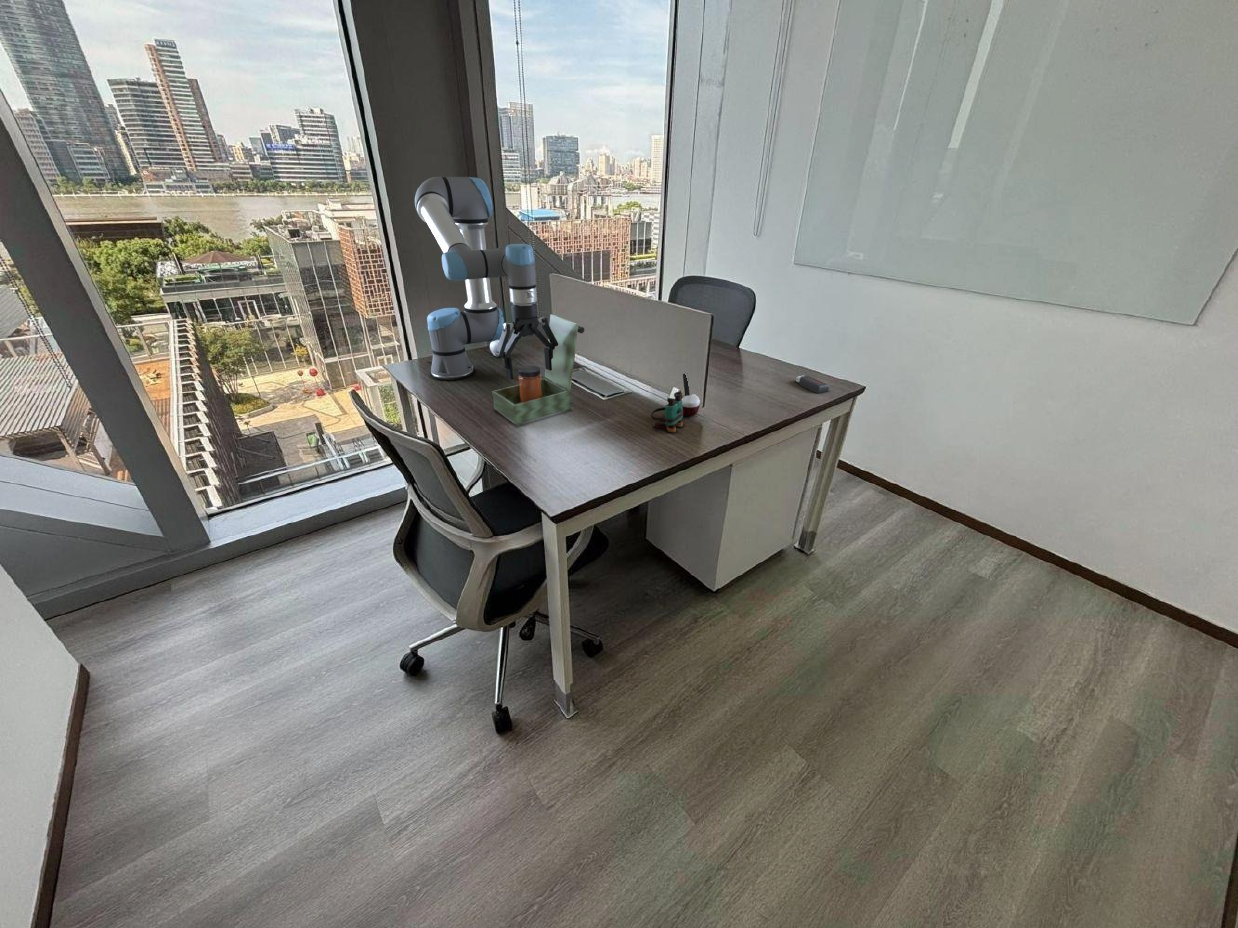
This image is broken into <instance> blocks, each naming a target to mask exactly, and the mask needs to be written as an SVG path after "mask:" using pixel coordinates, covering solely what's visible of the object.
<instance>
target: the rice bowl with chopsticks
mask: <svg viewBox="0 0 1238 928" xmlns="http://www.w3.org/2000/svg"><path fill="white" fill-rule="evenodd" d="M682 380H683V392H684V396H683V397H682V398H681V399H682V408H683V417H684V416H685V417H688V418H690V417H694V416H697V414H698V413H699V410H700V404H701V403H700V402H701V400H700V398H699V396H697V394H695V393H693V394H691V393H690V385H689V386H688V381H689V380H688V381H687V378H686V375H685V373H683V374H682Z"/></svg>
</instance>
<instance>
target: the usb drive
mask: <svg viewBox="0 0 1238 928" xmlns="http://www.w3.org/2000/svg"><path fill="white" fill-rule="evenodd" d="M795 382H797V383H798V385H799V386H800V387H803V388H805V389H807V390H810V391H812V392H813V393H816V394H820V393H825V392H829V389H830V386H829V385H828V384H827V383H826V382H823V381H822V380H819V379H817V378H814V377H812V376H810V375H799V376H796V378H795Z"/></svg>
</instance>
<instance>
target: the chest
mask: <svg viewBox="0 0 1238 928" xmlns="http://www.w3.org/2000/svg"><path fill="white" fill-rule="evenodd" d="M541 381H542V396H543V397H542V398H538V399H534V400H531V401H527V402H523V403H521V400H520V389H519V384H516V385H511V386H507V387H503V388H499V389H495V390H492V391H491V394H492V400H493V402H492V403H493V408H494V410H495V411H497V412H498V413H500V415H502V416H504V417H505V418H506V419H508V420H509V421H511V422H512V423H513V424H514V425H519V424H523V423H526V422H529V421H533V420H536V419H540V418H543V417H547V416H550V415H554V414H558V413H560V412H564V411H568V410H570V409H571V395H570V394H571V391H570V390H568V389H566V388H564V387H563V386H561V385H559V384H557V383H555V382H553V381H552V380H550V379H548V378H546V377H543V378H541Z"/></svg>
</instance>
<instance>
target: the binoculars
mask: <svg viewBox="0 0 1238 928" xmlns="http://www.w3.org/2000/svg"><path fill="white" fill-rule="evenodd" d="M673 397H674V398H671V397H667V398H666V399H667V404H666V405H665V406H664V407H658V408H655V409H653V410H652V411H651V413H650V414H651V415H650V418H651V420H653V421H655V422H654V428H656V429H663V428H664V429H666V431H667V432H669V433H676V432H677V427H683V426H684V425H683V423H684V422H683V420H682V419H683V417H684V415H683V408H682V398H681V397H682V392H680V391H676V392H674V393H673ZM662 411H664V416H663V415H661V416H660V417H656V416H654V414H655V413H657V412H662Z"/></svg>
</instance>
